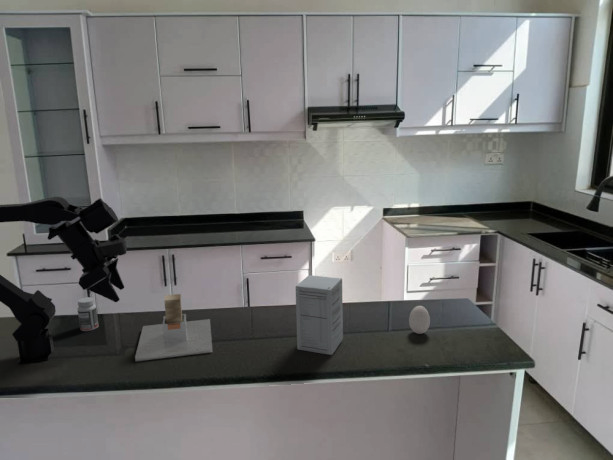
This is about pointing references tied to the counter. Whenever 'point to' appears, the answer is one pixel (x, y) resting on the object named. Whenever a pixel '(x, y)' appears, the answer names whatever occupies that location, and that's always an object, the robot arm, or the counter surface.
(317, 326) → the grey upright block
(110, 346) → the counter surface
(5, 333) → the counter surface
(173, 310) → the post
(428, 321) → the egg
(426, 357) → the counter surface
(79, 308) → the pill bottle
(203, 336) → the stand
